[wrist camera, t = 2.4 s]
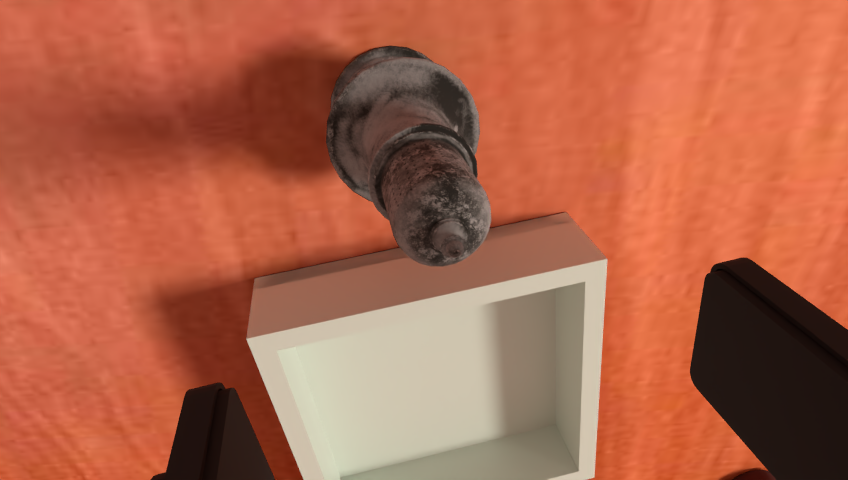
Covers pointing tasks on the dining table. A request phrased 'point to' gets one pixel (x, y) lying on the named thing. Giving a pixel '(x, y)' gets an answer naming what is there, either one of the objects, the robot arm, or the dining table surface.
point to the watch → (756, 475)
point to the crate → (440, 359)
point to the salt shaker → (411, 151)
